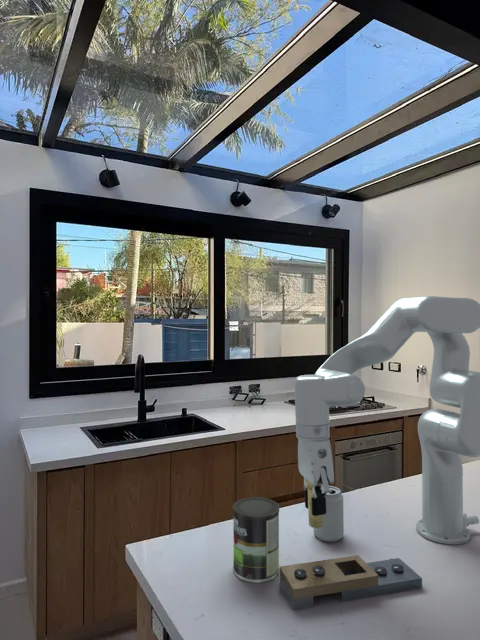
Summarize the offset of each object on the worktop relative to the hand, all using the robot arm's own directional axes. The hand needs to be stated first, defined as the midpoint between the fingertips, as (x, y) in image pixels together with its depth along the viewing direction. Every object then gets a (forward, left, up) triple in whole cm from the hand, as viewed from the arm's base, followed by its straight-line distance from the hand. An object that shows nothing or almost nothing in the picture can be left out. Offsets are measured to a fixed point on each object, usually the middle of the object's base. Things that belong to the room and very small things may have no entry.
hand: (315, 510), depth 100 cm
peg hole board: (-3, +10, -12) cm, 16 cm away
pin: (0, 0, -3) cm, 3 cm away
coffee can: (+14, -1, -12) cm, 18 cm away
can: (-8, -11, -12) cm, 18 cm away
